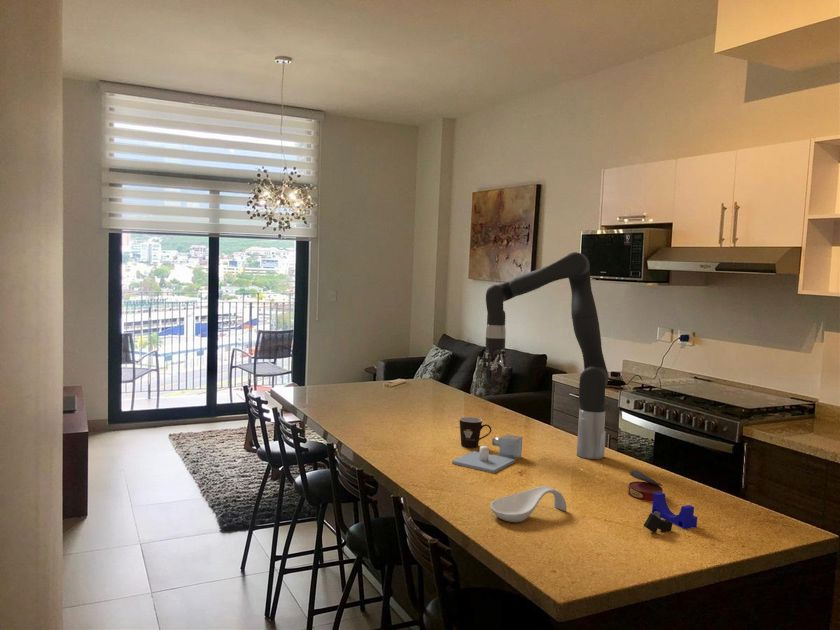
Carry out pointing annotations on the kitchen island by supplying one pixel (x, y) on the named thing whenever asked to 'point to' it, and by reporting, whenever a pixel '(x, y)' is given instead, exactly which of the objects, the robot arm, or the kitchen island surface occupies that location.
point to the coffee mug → (471, 431)
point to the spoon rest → (524, 503)
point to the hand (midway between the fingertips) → (494, 378)
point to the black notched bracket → (657, 523)
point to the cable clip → (682, 519)
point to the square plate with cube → (483, 460)
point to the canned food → (643, 487)
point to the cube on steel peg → (509, 446)
